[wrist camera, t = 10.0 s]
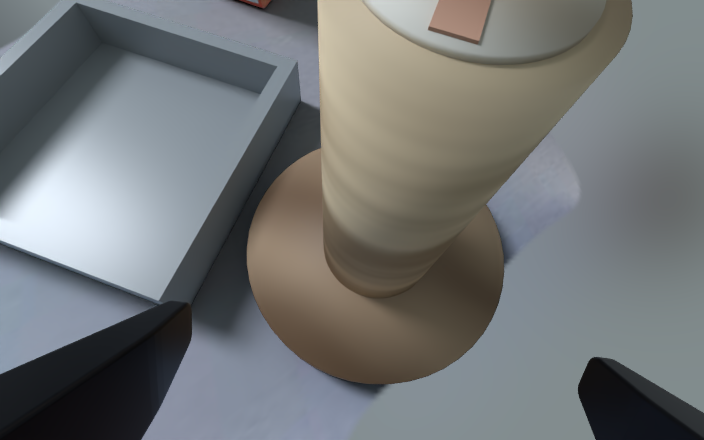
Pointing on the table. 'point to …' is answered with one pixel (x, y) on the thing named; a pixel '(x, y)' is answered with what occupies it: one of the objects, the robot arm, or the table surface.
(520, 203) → the table surface
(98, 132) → the grey tray
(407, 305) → the tan wooden disc
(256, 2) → the cracker box
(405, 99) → the oak canister
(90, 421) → the robot arm
